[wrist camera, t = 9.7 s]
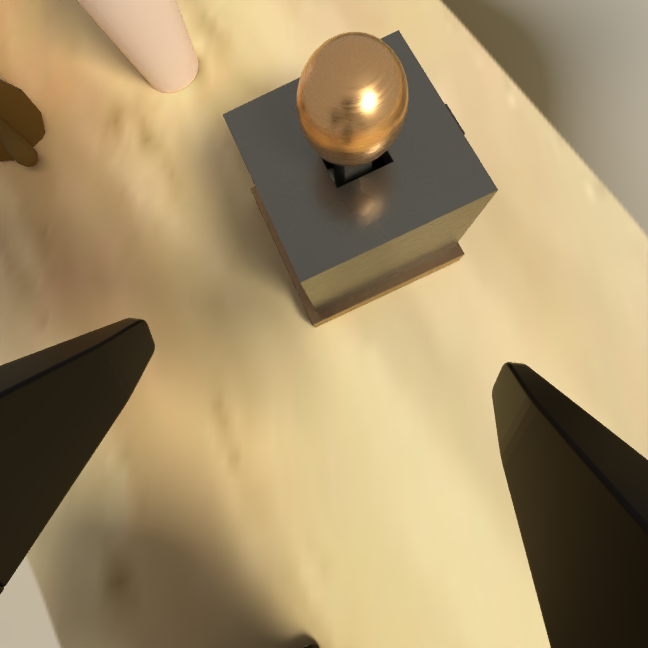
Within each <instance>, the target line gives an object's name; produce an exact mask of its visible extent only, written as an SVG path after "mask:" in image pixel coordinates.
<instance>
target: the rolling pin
mask: <svg viewBox="0 0 648 648" xmlns="http://www.w3.org/2000/svg"><path fill="white" fill-rule="evenodd" d="M44 133H45V131H44V126H43V121H42V116H41V112H40V111H39V110H38V109H37V108H36V106H35V105H34V104H33V103H32V102H31V100H30V99H29V98H28V97H27V96H26V95H25V93H24V92H23V91H22V90H21V89H19V88H17V87H15V86H13V85H11V84H9V83H7V82H6V81H5V80H4V79H3V78H2V77H1V76H0V161H3V160H16V161H17V162H18V163H19V164H21V165H24V166H27V167H31V166H34V165H36V164H37V162H38V155H37V152H36V151H35V149H34V148H33V147H34V146H35V145H36V144H37V143H38V142H39V141H40V140H41V139H42V138H43V135H44Z"/></svg>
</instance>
